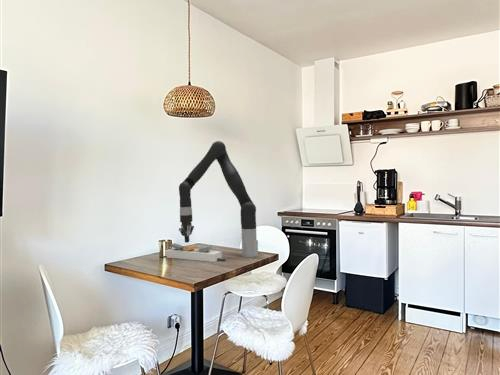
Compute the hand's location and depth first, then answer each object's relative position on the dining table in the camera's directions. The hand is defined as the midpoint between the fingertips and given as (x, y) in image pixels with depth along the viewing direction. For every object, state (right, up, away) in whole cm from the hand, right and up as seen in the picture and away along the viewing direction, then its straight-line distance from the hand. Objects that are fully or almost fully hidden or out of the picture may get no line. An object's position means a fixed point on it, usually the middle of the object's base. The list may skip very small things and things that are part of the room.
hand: (187, 242), depth 224 cm
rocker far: (-7, -4, +4) cm, 9 cm away
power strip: (+5, -9, -2) cm, 11 cm away
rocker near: (+12, -4, -6) cm, 14 cm away
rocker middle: (+2, -4, -1) cm, 5 cm away
